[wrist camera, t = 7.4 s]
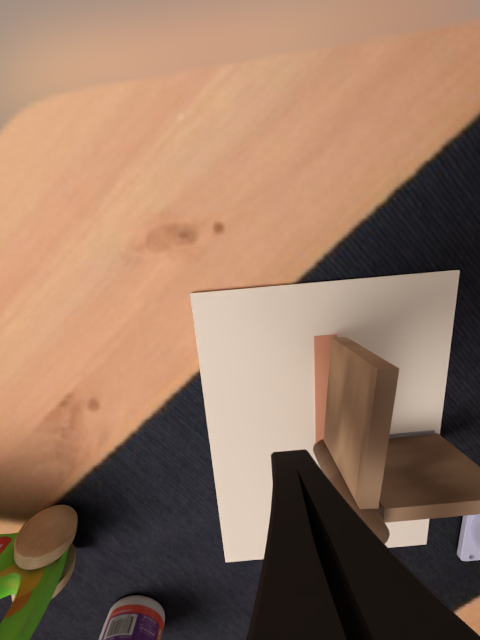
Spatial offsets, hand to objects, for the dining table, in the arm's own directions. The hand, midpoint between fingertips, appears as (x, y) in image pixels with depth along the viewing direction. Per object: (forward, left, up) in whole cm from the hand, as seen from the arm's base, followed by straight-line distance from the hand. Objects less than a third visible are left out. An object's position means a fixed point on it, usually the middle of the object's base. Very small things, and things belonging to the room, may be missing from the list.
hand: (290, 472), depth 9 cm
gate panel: (-5, +1, -7) cm, 9 cm away
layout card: (-4, +6, -8) cm, 11 cm away
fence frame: (-8, +7, -8) cm, 13 cm away
